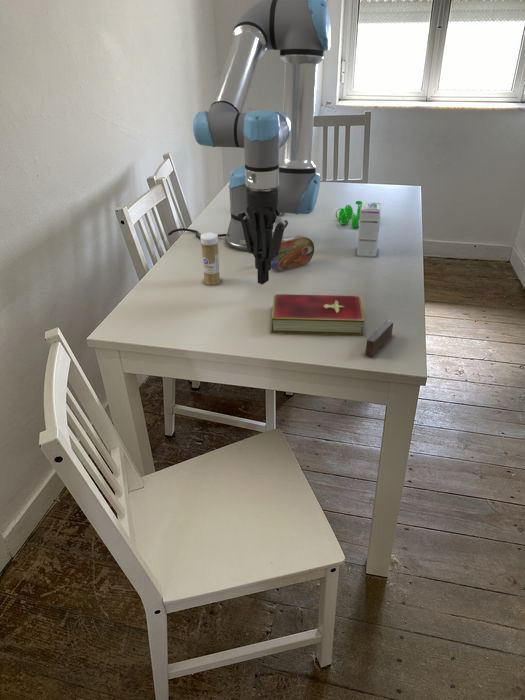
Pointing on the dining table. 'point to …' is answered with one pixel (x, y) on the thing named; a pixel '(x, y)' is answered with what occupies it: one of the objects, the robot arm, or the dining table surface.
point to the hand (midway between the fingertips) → (263, 281)
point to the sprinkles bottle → (210, 258)
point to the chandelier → (349, 215)
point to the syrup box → (368, 229)
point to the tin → (293, 253)
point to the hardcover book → (317, 314)
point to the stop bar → (379, 338)
